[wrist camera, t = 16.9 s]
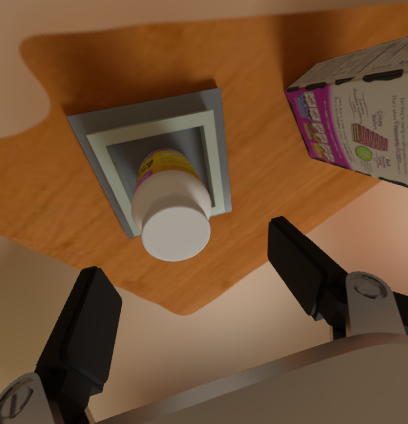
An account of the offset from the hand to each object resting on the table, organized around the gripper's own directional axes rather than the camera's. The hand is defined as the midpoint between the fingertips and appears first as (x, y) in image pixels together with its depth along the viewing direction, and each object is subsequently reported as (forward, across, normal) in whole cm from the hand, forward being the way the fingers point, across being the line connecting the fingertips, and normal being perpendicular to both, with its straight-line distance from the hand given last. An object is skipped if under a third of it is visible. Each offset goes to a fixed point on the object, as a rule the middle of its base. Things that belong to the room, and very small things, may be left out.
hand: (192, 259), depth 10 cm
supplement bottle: (+16, +1, 0) cm, 16 cm away
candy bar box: (+17, -20, -3) cm, 27 cm away
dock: (+16, +1, 0) cm, 16 cm away
